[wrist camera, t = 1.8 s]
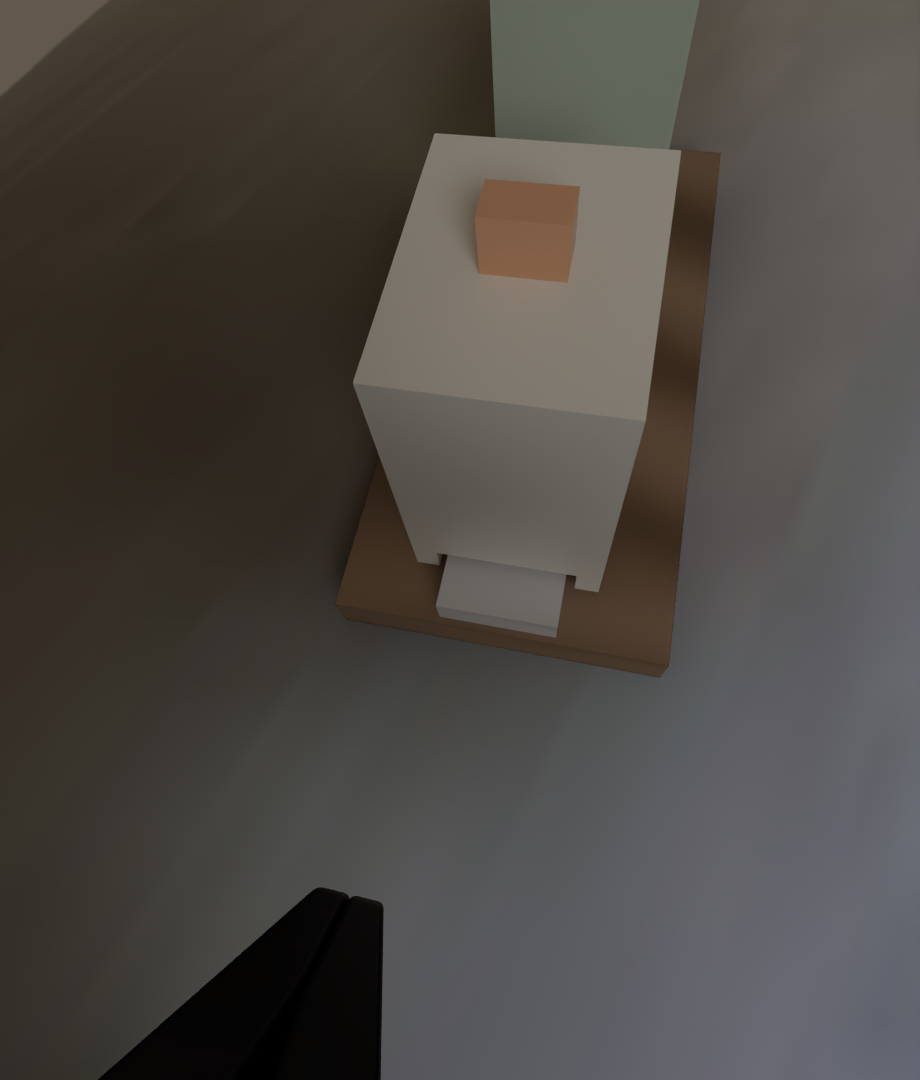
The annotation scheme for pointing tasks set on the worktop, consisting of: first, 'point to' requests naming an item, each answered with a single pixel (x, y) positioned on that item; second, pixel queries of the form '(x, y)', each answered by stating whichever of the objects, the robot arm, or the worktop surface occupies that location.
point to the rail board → (642, 530)
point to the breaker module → (520, 348)
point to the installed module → (590, 69)
